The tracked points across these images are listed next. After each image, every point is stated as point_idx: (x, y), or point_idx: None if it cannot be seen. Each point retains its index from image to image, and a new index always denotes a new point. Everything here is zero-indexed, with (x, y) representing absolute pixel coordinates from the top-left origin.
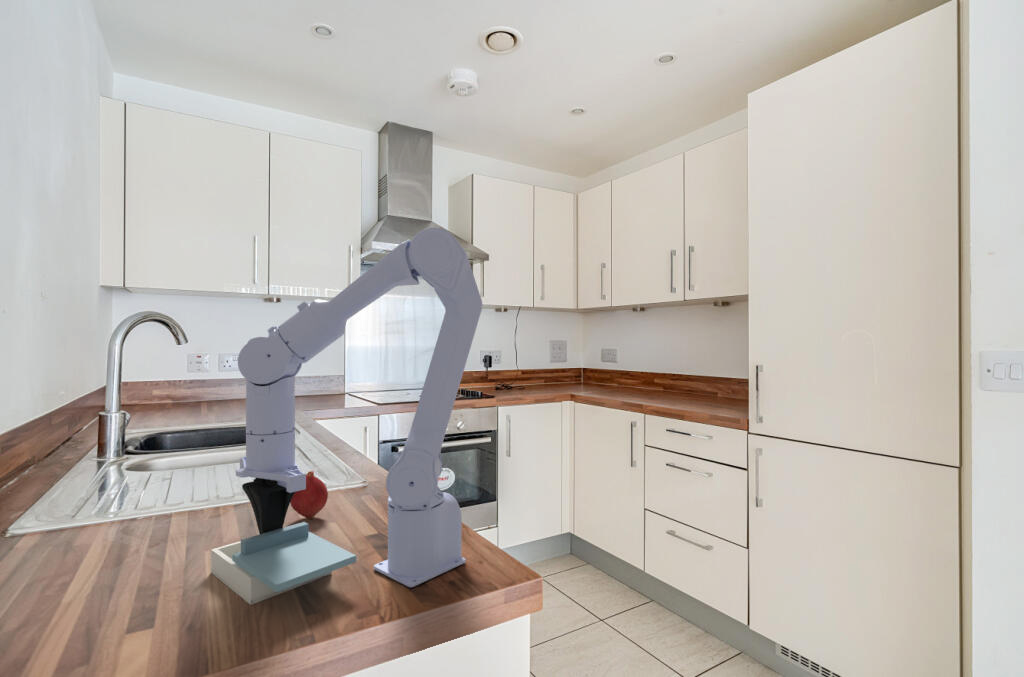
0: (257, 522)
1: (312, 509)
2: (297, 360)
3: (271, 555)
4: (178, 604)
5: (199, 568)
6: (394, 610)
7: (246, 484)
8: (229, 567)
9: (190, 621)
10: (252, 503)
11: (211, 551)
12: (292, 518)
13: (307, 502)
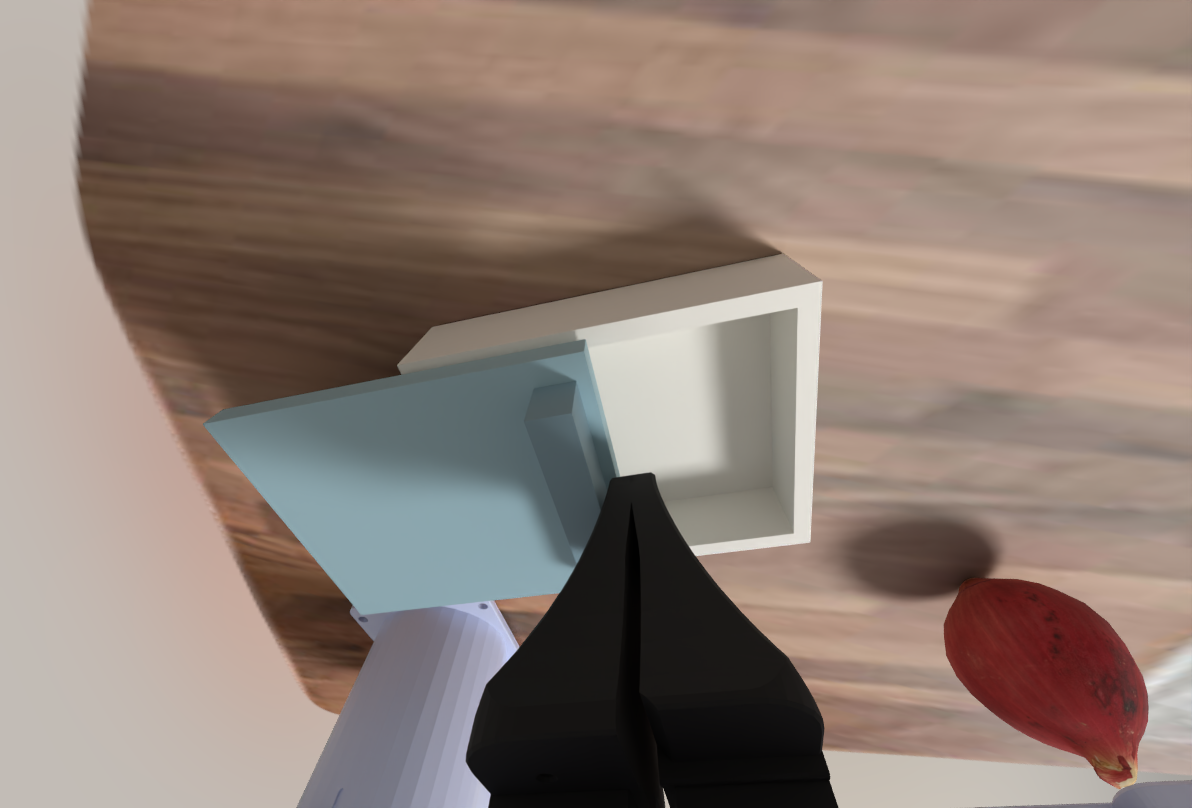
0: (654, 514)
1: (952, 619)
2: None
3: (481, 460)
4: (571, 102)
5: (872, 217)
6: (274, 556)
7: (761, 719)
8: (598, 318)
9: (401, 135)
10: (682, 590)
11: (815, 279)
12: (1033, 550)
13: (976, 638)
